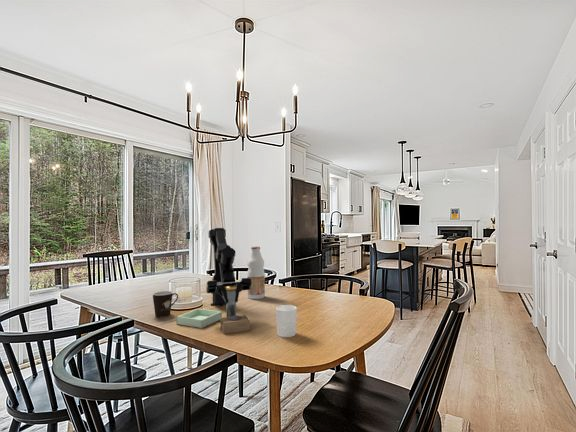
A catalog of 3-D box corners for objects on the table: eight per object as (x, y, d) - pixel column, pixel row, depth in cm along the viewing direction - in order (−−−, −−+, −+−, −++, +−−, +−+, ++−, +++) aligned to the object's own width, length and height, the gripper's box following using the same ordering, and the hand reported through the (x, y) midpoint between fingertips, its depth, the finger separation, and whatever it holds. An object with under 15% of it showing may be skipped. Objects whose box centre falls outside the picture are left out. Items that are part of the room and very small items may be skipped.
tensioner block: (220, 327, 132) (220, 315, 132) (245, 324, 136) (245, 313, 136) (223, 333, 125) (223, 320, 126) (249, 330, 129) (249, 317, 129)
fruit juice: (248, 300, 177) (248, 247, 177) (246, 296, 186) (246, 246, 186) (266, 298, 179) (265, 247, 179) (263, 295, 188) (262, 245, 188)
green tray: (176, 323, 138) (176, 316, 138) (197, 315, 150) (197, 308, 150) (201, 327, 132) (201, 320, 132) (221, 318, 144) (221, 311, 144)
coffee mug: (153, 318, 145) (153, 296, 145) (151, 314, 153) (151, 292, 153) (181, 315, 151) (180, 293, 151) (177, 310, 158) (177, 289, 158)
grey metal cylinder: (223, 318, 136) (222, 287, 136) (229, 315, 141) (229, 284, 141) (232, 320, 134) (232, 288, 134) (239, 316, 139) (239, 285, 139)
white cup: (275, 331, 127) (275, 305, 128) (295, 330, 128) (295, 304, 128) (276, 338, 120) (276, 311, 120) (298, 337, 120) (297, 310, 120)
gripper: (244, 280, 155) (250, 310, 145) (204, 283, 149) (207, 315, 138) (248, 266, 148) (255, 296, 137) (205, 268, 141) (209, 300, 131)
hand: (231, 302), depth 136 cm, fingers closed on grey metal cylinder, 4 cm apart
